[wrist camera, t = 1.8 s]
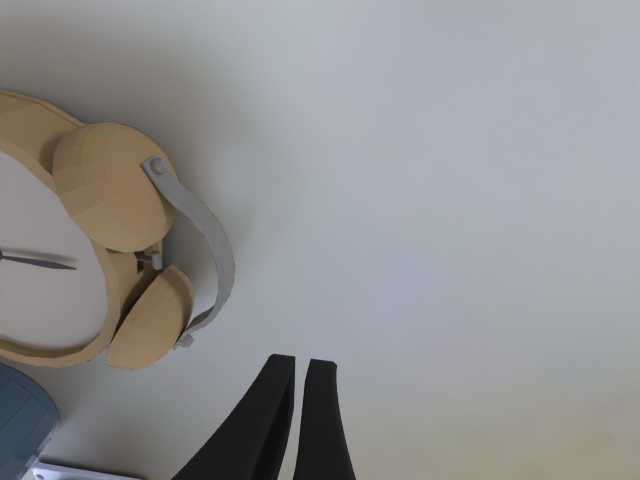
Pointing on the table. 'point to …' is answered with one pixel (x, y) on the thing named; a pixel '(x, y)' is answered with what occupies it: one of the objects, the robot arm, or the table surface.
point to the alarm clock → (93, 242)
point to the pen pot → (23, 422)
